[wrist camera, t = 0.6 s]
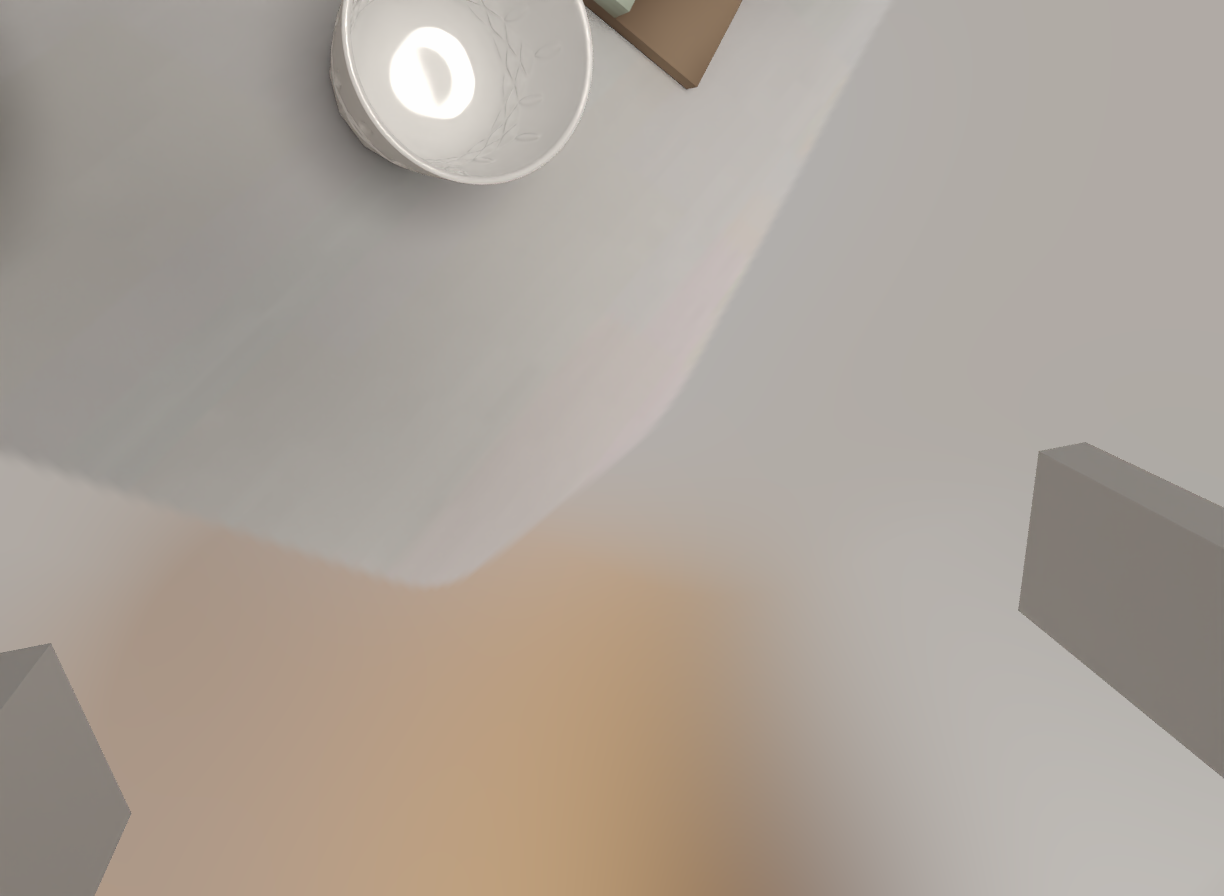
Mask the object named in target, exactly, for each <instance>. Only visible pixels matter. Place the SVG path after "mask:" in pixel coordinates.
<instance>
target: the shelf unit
mask: <svg viewBox="0 0 1224 896" xmlns="http://www.w3.org/2000/svg"><path fill="white" fill-rule="evenodd" d="M741 2H742V0H583V3H584V5H585V6H587V7H588V8H589V9H590V10H592V11H593V12H594V13H595V14H596V15H598V16H599V17H600V18H601V19H602V20H604V21H605V22H606V23H607V24H608V25H610V26H611V27H612V28H613V29H615V30H616V31H617V32H618V33H619V34H621V35H622V36H623V37H624V38H625V39H627V40H628V41H629V42H630V43H631V44H633V45H634V46H635V47H636V48H638V49H639V50H640V51H641V52H642V53H644V54H645V55H646V56H647V57H648V58H650V59H651V60H652V61H653V62H654V63H656V64H657V65H658V66H659V67H661V68H662V69H663V70H664V71H665V72H667V73H668V74H669V75H670V76H671V77H673V78H674V79H675V80H676V81H677V82H679V83H680V84H681V85H682V86H683V87H685V88H686V89H689V88H694V87H697V86H698V84H699V82H700V80H701V78H702V77H703V75H704V73H705V71H706V69H707V67H708V65H709V63H710V61H711V59H712V57H713V56H714V54H715V52H716V50H717V48H718V46H719V44H720V42H721V40H722V38H723V36H724V35H725V33H726V31H727V29H728V27H729V25H730V23H731V21H732V19H733V17H734V15H735V14H736V12H737V10H738V8H739V6H740V4H741Z"/></svg>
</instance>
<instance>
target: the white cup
mask: <svg viewBox="0 0 1224 896" xmlns="http://www.w3.org/2000/svg"><path fill="white" fill-rule="evenodd" d="M592 74H593V44H592V35H591V29H590V24H589V20H588V16H587V12H586V9H585V6H584V3H583V0H342V1H341V4H340V7H339V10H338V14H337V17H336V21H335V26H334V32H333V38H332V44H331V64H330V69H329V75H330V78H331V82H332V86H333V90H334V94H335V98H336V102H337V106H338V110H339V113H340V115H341V116H342V117H343V119H344V120H345V121H346V123H347V124H348V125H349V127H350V128H351V129H352V131H353V132H354V133H355V134H356V136H357V137H358V138H359V140H360V141H361V142H362V144H363V145H364V146H365V147H366V148H368V149H370V150H372V151H373V152H375V153H377V154H379V155H380V156H382V157H384V158H385V159H387V160H388V161H390V162H392V163H394V164H396V165H398V166H400V167H403V168H405V169H408V170H411V171H414V172H417V173H420V174H423V175H427V176H431V177H436V178H441V179H446V180H451V181H455V182H460V183H466V184H475V185H490V184H499V183H504V182H509V181H512V180H515V179H518V178H521V177H523V176H526V175H528V174H530V173H532V172H534V171H535V170H537V169H539V168H540V167H542V166H543V165H544V164H546V163H547V162H548V161H549V160H551V159H552V158H553V157H554V156H555V155H556V154H557V153H558V152H559V151H560V150H561V149H562V148H563V146H564V145H565V144H566V143H567V141H568V140H569V139H570V137H571V136H572V134H573V132H574V131H575V129H576V127H577V125H578V123H579V121H580V119H581V117H582V115H583V112H584V110H585V107H586V104H587V100H588V97H589V93H590V88H591V82H592Z"/></svg>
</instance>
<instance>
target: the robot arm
mask: <svg viewBox="0 0 1224 896" xmlns="http://www.w3.org/2000/svg"><path fill="white" fill-rule="evenodd" d="M1018 610H1019V611H1020V612H1021V613H1022V614H1023V615H1025V616H1026V617H1027V618H1028V619H1029V620H1031V621H1032V622H1033V623H1034V624H1036V625H1037V626H1038V627H1039V628H1040V629H1042V630H1043V631H1044V632H1045V633H1047V634H1048V635H1049V636H1050V637H1052V638H1053V639H1054V640H1055V641H1056V642H1058V643H1059V644H1060V645H1061V646H1063V647H1064V648H1065V649H1066V650H1068V651H1069V652H1070V653H1071V654H1072V655H1074V656H1075V657H1076V658H1077V659H1078V660H1080V661H1081V662H1082V663H1083V664H1085V665H1086V666H1087V667H1088V668H1090V669H1091V670H1092V671H1093V672H1094V673H1096V674H1097V675H1098V676H1099V677H1101V678H1102V679H1103V680H1104V681H1105V682H1107V683H1108V684H1109V685H1110V686H1111V687H1113V688H1114V689H1115V690H1116V691H1118V692H1119V693H1120V694H1121V695H1123V696H1124V697H1125V698H1126V699H1127V700H1129V701H1130V702H1131V703H1132V704H1134V705H1135V706H1136V707H1137V708H1138V709H1140V710H1141V711H1142V712H1143V713H1145V714H1146V715H1147V716H1148V717H1149V718H1151V719H1152V720H1153V721H1154V722H1155V723H1157V724H1158V725H1159V726H1160V727H1162V728H1163V729H1164V730H1165V731H1167V732H1168V733H1169V734H1170V735H1172V736H1173V737H1174V738H1175V739H1176V740H1178V741H1179V742H1180V743H1181V744H1182V745H1184V746H1185V747H1186V748H1187V749H1189V750H1190V751H1191V752H1192V753H1193V754H1195V755H1196V756H1197V757H1198V758H1200V759H1201V760H1202V761H1203V762H1204V763H1206V764H1207V765H1208V766H1209V767H1211V768H1212V769H1213V770H1214V771H1215V772H1217V773H1218V774H1219V775H1220V776H1222V777H1223V778H1224V508H1223V507H1221V506H1219V505H1217V504H1214V503H1212V502H1211V501H1208V500H1206V499H1204V498H1202V497H1200V496H1198V495H1196V494H1194V493H1191V492H1190V491H1187V490H1185V489H1183V488H1181V487H1179V486H1177V485H1175V484H1173V483H1171V482H1168V481H1166V480H1164V479H1162V478H1160V477H1158V476H1156V475H1154V474H1151V473H1149V472H1147V471H1145V470H1143V469H1141V468H1139V467H1137V466H1135V465H1133V464H1130V463H1128V462H1126V461H1124V460H1122V459H1120V458H1118V457H1116V456H1114V455H1111V454H1109V453H1107V452H1105V451H1103V450H1101V449H1099V448H1097V447H1095V446H1092V445H1090V444H1088V443H1086V442H1085V443H1079V444H1075V445H1069V446H1064V447H1059V448H1053V449H1048V450H1044V451H1039V454H1038V462H1037V469H1036V477H1035V485H1034V493H1033V500H1032V508H1031V516H1030V524H1029V531H1028V539H1027V548H1026V555H1025V563H1024V570H1023V578H1022V586H1021V594H1020V601H1019V609H1018ZM130 815H131V811H130V809H129V807H128V805H127V803H126V801H125V799H124V797H123V795H122V792H121V790H120V788H119V786H118V784H117V782H116V780H115V778H114V776H113V773H112V771H111V769H110V767H109V765H108V763H107V761H106V759H105V757H104V754H103V752H102V750H101V748H100V746H99V744H98V742H97V740H96V738H95V735H94V733H93V731H92V729H91V727H90V725H89V723H88V721H87V719H86V716H85V714H84V712H83V710H82V708H81V706H80V704H79V702H78V699H77V698H76V695H75V693H74V691H73V689H72V687H71V685H70V683H69V681H68V678H67V676H66V674H65V672H64V670H63V668H62V666H61V663H60V661H59V659H58V657H57V655H56V653H55V651H54V649H53V647H52V644H51V643H50V644H45V645H39V646H34V647H29V648H24V649H19V650H14V651H9V652H3V653H0V896H94V895H95V893H96V891H97V889H98V887H99V884H100V882H101V880H102V878H103V875H104V873H105V871H106V869H107V866H108V864H109V862H110V860H111V858H112V855H113V853H114V851H115V849H116V846H117V844H118V842H119V840H120V837H121V835H122V832H123V831H124V828H125V826H126V824H127V822H128V819H129V817H130Z"/></svg>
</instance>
